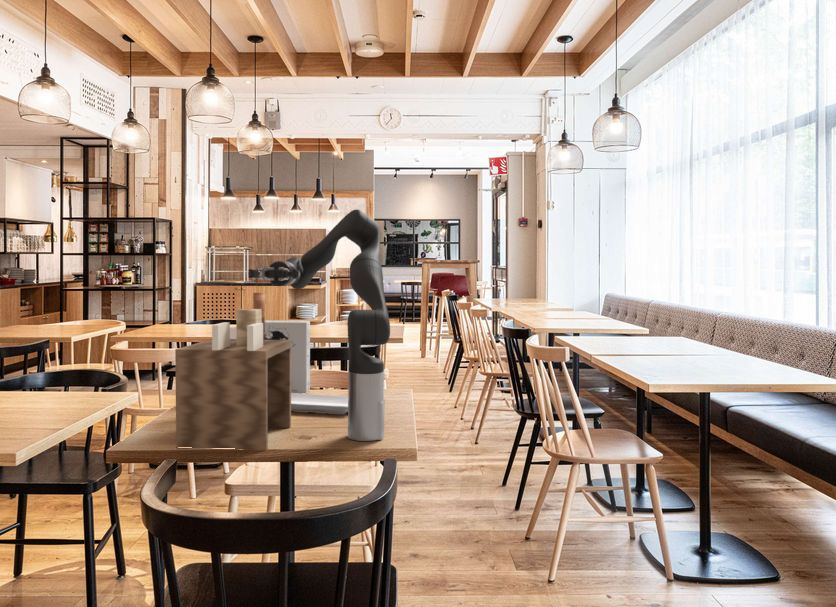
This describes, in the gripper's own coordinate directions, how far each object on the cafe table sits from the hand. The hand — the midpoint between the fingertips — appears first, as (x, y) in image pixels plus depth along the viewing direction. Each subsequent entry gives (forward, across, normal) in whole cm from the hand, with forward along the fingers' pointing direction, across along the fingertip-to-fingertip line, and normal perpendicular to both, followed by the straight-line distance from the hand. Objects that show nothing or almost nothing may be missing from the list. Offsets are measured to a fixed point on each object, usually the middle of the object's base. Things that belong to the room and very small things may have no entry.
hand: (267, 274), depth 183 cm
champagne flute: (-29, -19, +42) cm, 55 cm away
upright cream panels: (+25, 0, +18) cm, 31 cm away
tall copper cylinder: (+13, 0, +18) cm, 22 cm away
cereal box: (-44, -9, +42) cm, 62 cm away
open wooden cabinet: (+17, -3, +42) cm, 45 cm away
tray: (-18, +8, +43) cm, 47 cm away
